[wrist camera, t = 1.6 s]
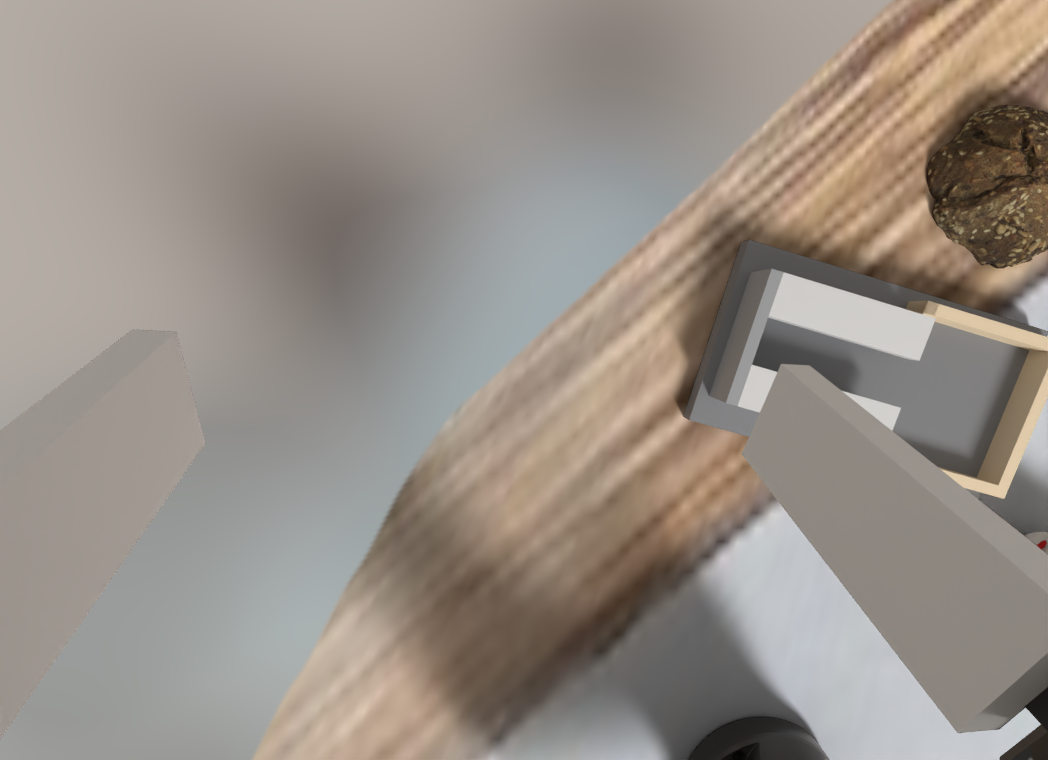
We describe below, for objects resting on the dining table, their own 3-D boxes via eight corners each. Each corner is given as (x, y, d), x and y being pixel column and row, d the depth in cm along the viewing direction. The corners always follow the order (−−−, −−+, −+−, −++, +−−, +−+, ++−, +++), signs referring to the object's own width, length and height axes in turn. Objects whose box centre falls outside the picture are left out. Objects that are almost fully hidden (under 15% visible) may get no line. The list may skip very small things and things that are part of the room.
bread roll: (1093, 161, 43) (1169, 141, 38) (1007, 285, 44) (1069, 281, 39) (979, 79, 42) (1042, 48, 37) (894, 209, 43) (944, 195, 38)
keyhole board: (1031, 331, 44) (1094, 333, 40) (963, 494, 46) (1016, 516, 42) (741, 242, 43) (770, 233, 38) (683, 416, 45) (704, 428, 40)
